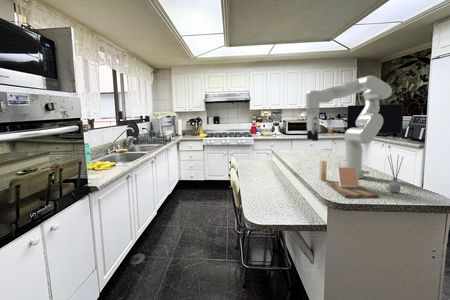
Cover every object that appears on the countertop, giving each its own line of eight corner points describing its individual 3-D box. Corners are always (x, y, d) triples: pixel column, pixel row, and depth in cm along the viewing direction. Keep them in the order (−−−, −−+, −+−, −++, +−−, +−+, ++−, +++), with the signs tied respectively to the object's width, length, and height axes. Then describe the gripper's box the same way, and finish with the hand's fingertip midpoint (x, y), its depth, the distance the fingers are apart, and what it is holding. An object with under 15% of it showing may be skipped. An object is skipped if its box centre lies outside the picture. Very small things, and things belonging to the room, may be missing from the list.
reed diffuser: (405, 194, 117) (408, 155, 114) (392, 195, 116) (395, 155, 114) (390, 189, 127) (392, 152, 125) (378, 189, 127) (380, 153, 124)
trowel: (327, 180, 146) (327, 160, 145) (331, 183, 140) (332, 161, 139) (314, 181, 146) (314, 160, 145) (317, 183, 140) (318, 162, 139)
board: (352, 184, 137) (352, 182, 137) (378, 197, 113) (378, 194, 113) (324, 184, 137) (325, 182, 137) (345, 198, 114) (345, 195, 113)
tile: (355, 167, 128) (356, 166, 127) (358, 187, 125) (359, 187, 124) (337, 167, 128) (338, 167, 127) (339, 187, 126) (340, 187, 124)
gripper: (324, 110, 132) (324, 141, 134) (314, 112, 149) (313, 138, 151) (311, 111, 132) (310, 141, 134) (302, 112, 149) (302, 139, 152)
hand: (312, 139), depth 143 cm, fingers open, 9 cm apart
